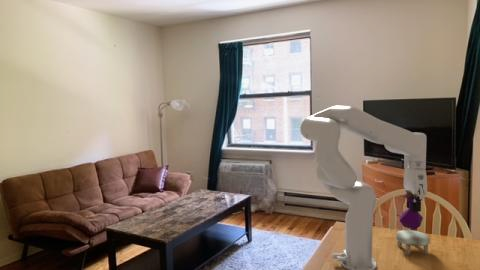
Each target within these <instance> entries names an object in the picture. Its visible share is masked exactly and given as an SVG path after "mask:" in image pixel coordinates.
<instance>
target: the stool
mask: <svg viewBox="0 0 480 270" xmlns="http://www.w3.org/2000/svg"><path fill="white" fill-rule="evenodd" d="M395 234H396V235H395V238H396V240H397V247H398V248H402V247H403V244H404V245H405V255H406V256H408V257H409V256H411V246H412V247H415V248H418V247H423V249H422V250H423V252H422V254H423V255H425V256H427V255H429V245H430V244H431V243H430V242H431V241H430V240H431V239H430V236H429V235H428V234H426V233H424V232H421V231H418V230H413V229H403V230H399V231H397V232H396V233H395Z"/></svg>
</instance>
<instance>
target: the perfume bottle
mask: <svg viewBox="0 0 480 270" xmlns="http://www.w3.org/2000/svg"><path fill="white" fill-rule="evenodd" d="M404 198H405V199H406V200H407V199H408V201H409V208H407V209H406V210H405V211H403V212H402V214H401V216H400V219H399V222H400V223H401V225H402V227H404V228H405V229H406V228H407V229H409V230H413V231H417V229H418V228H420V227H421V226H422V222H423V219H424V217H423V216H422V215H421V213H420V212H413V211H412V202H413V194H412V193H411V192H409V191H408V190H407V191H406V190H405V194H404Z"/></svg>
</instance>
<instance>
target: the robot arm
mask: <svg viewBox="0 0 480 270" xmlns="http://www.w3.org/2000/svg"><path fill="white" fill-rule="evenodd" d="M341 130H344V131H347V132H350V133H351V134H353V135H356V136H358V137H360V138H362V139H364V140H365V141H369V142H371V143H375V144H378V145H384V148H385V149H386V150H387V151H389V152H390V153H394V154H399V155H403V156H404V157H403V158H404V160H403V162H404V163H403V168H404V172H403V189H404V190H405V192H406V191H407V190H408V191H409V192H411V193H412V194H413V202H412V211H413V212H419V213H421V211H422V202H423V200H424V199H425V198H426V197H425V195H427V194H428V179H427V178H428V176H427V171H426V167H427V134H425V133H424V132H417V131H415V132H412V131H410V130H408V129H405V128H403V127H400V126H397V125H395V124H393V123H389V122H388V121H387V122H386V121H384V120H381V119H379V118H378V117H375V116H374V115H372V114H370V113H367V112H365V111H364V110H361V109H360V108H357V107H355V106H351V105H334V106H331V107H328V108H326V109H324V110H321V111H319V112H317V113H314V114H312V115H310V116H307V117H306V118H305V119H303V121H302V122H301V124H300V127H299V131H300V134H301V136H302V137H303V138H305V139H306V140H309V141H312V142H316V144H315V149H314V159H315V162H316V163H317V166H316V171H315V172H316V176H317V179H318V180H319V182H320V183H321V184H322V185H323V186H324V188H326V190H327V191H328V192H329V193H330V194H331V195H332V197H334V198H335V199H336V200H338V201H340V202H342V203H345V204H347V205H348V206H349V208H348V210H347V212H346V214H345V220H344V222H345V226H344V227H345V229H344V230H345V233H344V235H345V239H344V240H345V243H344V244H345V249H342V252H340V253H331V256H332V259H333V260H337V262H340V264H341V265H342V266H343V268H345V269H347V270H376V269H377V265H378V264H377V261H376V260H375V259H374V258H373V233H374V232H373V225H374V224H373V223H374V222H373V220H374V209H375V205H376V200H377V194H376V191H375V189H374V188H373V187H372V186H371V185H370V184H368V183H366V182H363V181H360V180H358V176H357V173H356V171H355V168H353V167H352V165H351V164H350V163H349V162H348V161H347V160H346V158H345V157H344V156H343V154H342V153H341V152H340V149H339V143H340V138H341V134H342V133H341ZM406 208H407V209H409V201H408V199H407V198H406Z"/></svg>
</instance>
